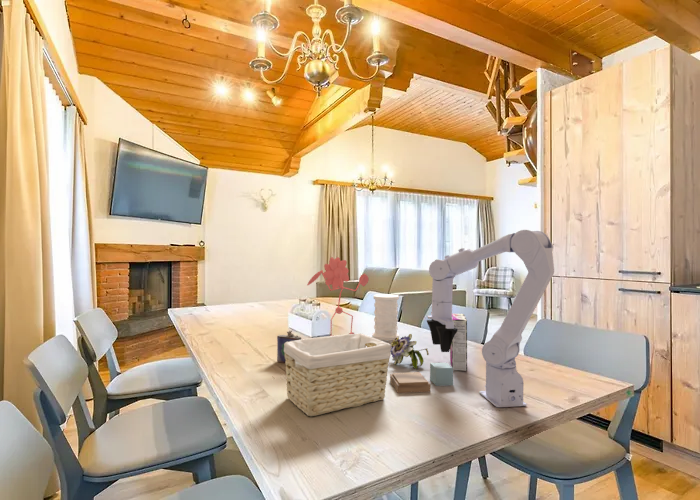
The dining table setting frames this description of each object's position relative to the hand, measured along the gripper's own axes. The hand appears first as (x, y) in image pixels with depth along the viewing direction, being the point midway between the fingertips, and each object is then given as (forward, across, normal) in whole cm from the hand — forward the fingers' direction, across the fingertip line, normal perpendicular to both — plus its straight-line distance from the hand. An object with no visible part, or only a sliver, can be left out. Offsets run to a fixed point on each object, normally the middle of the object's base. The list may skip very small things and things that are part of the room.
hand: (440, 347), depth 110 cm
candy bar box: (+10, -14, +11) cm, 20 cm away
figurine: (+11, -39, -28) cm, 50 cm away
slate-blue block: (+10, +1, 0) cm, 10 cm away
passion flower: (+10, -17, -6) cm, 21 cm away
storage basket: (+10, +11, -30) cm, 34 cm away
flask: (+11, -20, -45) cm, 50 cm away
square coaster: (+10, +3, -10) cm, 14 cm away
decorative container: (+11, -54, -6) cm, 56 cm away
